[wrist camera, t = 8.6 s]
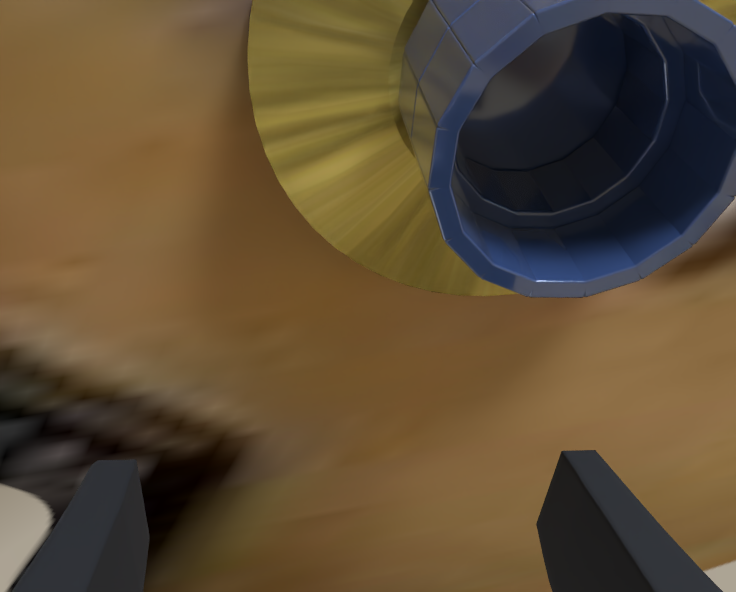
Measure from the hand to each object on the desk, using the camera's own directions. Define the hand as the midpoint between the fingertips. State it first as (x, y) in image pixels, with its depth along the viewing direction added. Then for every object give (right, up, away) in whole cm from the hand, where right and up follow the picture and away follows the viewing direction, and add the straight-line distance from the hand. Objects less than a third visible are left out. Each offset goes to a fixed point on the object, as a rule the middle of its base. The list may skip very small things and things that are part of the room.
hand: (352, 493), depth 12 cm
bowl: (+4, +8, +3) cm, 10 cm away
